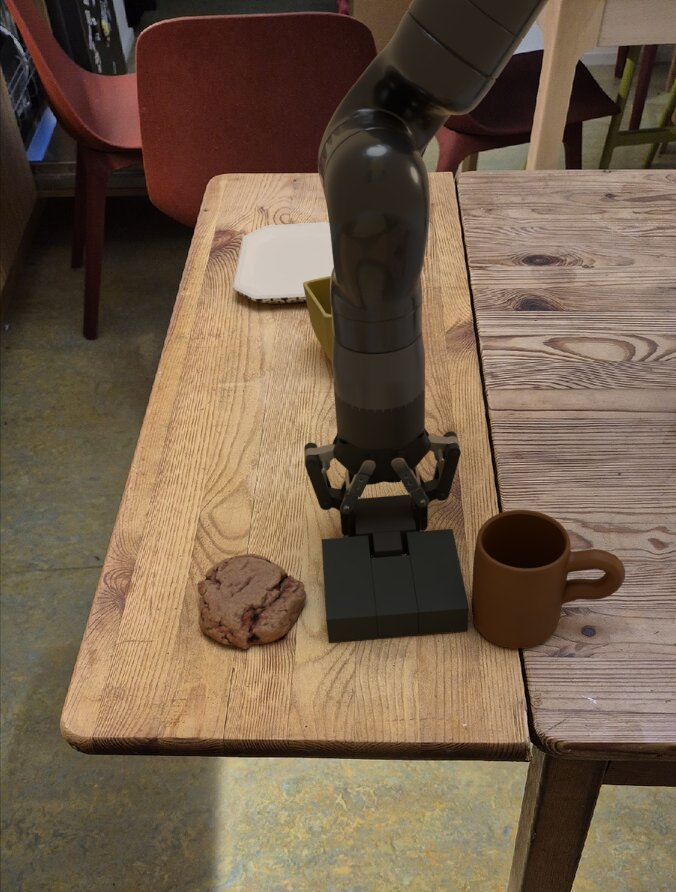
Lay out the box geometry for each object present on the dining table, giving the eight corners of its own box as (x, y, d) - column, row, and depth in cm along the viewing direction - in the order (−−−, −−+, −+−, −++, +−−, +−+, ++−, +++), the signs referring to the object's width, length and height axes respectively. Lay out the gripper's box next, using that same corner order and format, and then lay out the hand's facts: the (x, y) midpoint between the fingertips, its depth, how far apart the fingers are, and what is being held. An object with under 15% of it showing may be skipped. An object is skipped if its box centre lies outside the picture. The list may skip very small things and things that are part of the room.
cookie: (262, 551, 88) (258, 528, 86) (327, 614, 82) (325, 590, 80) (171, 600, 84) (165, 577, 82) (233, 670, 78) (228, 647, 76)
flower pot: (376, 334, 114) (373, 265, 107) (402, 370, 108) (401, 299, 101) (308, 351, 112) (301, 281, 106) (331, 388, 106) (325, 317, 100)
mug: (615, 603, 81) (633, 522, 74) (607, 669, 76) (626, 589, 69) (479, 581, 84) (484, 501, 77) (462, 643, 79) (466, 564, 72)
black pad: (410, 517, 90) (410, 494, 88) (419, 571, 85) (419, 547, 83) (354, 522, 90) (352, 498, 88) (359, 576, 85) (357, 552, 83)
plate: (389, 232, 132) (388, 217, 131) (392, 306, 118) (391, 290, 117) (246, 240, 134) (244, 225, 132) (232, 314, 119) (229, 298, 118)
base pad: (452, 552, 86) (452, 528, 84) (467, 631, 80) (469, 608, 77) (324, 562, 87) (321, 538, 84) (328, 643, 80) (326, 619, 78)
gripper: (292, 413, 73) (310, 566, 85) (473, 398, 73) (465, 553, 85) (291, 362, 78) (308, 513, 91) (460, 348, 78) (454, 501, 91)
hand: (384, 532), depth 88 cm, fingers closed on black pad, 5 cm apart
